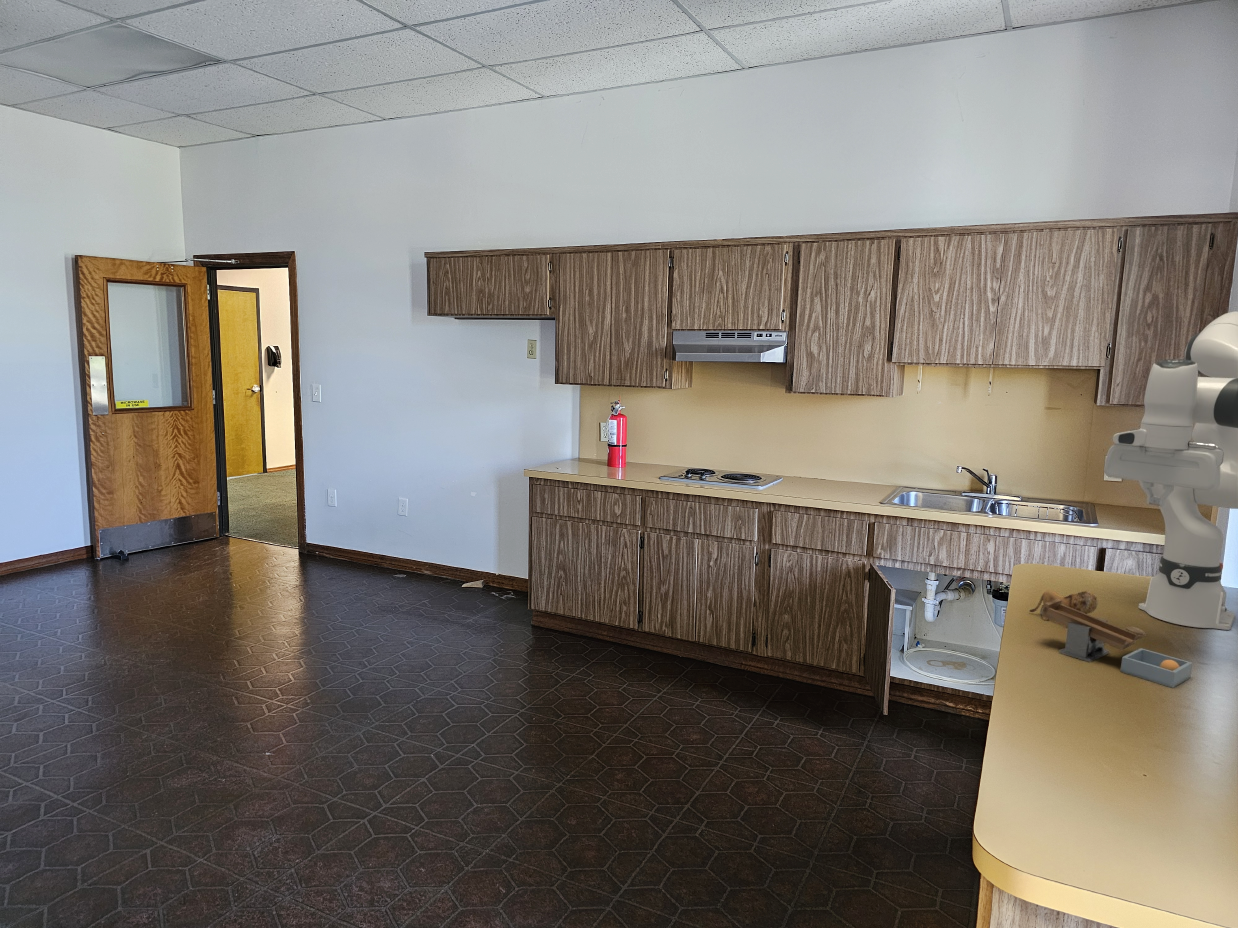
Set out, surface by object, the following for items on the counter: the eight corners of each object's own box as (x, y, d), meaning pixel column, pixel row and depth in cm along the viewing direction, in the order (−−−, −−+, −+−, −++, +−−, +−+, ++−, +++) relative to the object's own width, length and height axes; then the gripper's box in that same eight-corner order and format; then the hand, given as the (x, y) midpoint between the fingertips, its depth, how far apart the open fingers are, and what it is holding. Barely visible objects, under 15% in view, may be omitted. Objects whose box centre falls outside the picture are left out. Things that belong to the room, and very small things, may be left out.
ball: (1160, 660, 158) (1176, 656, 156) (1169, 676, 157) (1186, 672, 154) (1153, 664, 156) (1170, 659, 154) (1163, 680, 155) (1179, 675, 153)
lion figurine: (1098, 630, 182) (1103, 591, 181) (1087, 634, 179) (1092, 595, 178) (1034, 611, 194) (1038, 575, 193) (1022, 615, 191) (1027, 578, 190)
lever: (1069, 606, 179) (1072, 593, 178) (1147, 637, 167) (1151, 624, 166) (1041, 616, 171) (1045, 603, 170) (1121, 650, 159) (1126, 636, 158)
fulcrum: (1078, 644, 173) (1082, 613, 172) (1109, 653, 168) (1113, 621, 167) (1059, 652, 167) (1062, 621, 166) (1089, 662, 162) (1093, 629, 161)
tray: (1138, 662, 164) (1140, 647, 163) (1190, 677, 157) (1192, 662, 156) (1120, 671, 158) (1122, 656, 158) (1172, 687, 151) (1175, 672, 151)
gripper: (1230, 444, 159) (1220, 512, 161) (1117, 433, 175) (1109, 495, 177) (1219, 445, 155) (1209, 515, 157) (1105, 434, 171) (1097, 498, 173)
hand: (1155, 505), depth 167 cm, fingers closed
